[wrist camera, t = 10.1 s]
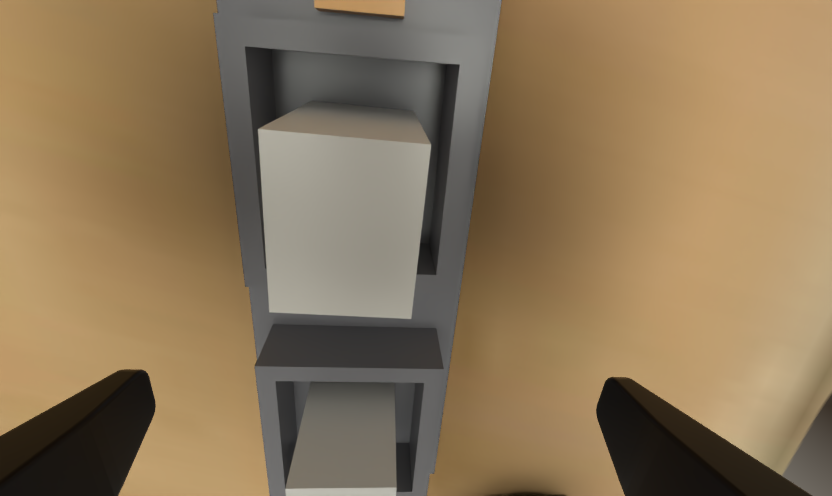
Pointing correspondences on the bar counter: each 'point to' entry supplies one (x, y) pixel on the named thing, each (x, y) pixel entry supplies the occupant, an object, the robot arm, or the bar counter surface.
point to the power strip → (443, 210)
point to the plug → (343, 209)
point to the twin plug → (346, 441)
